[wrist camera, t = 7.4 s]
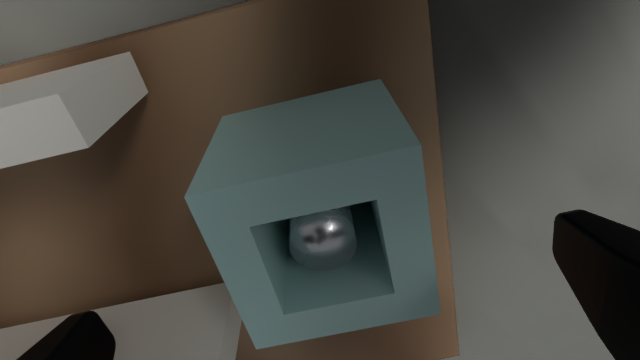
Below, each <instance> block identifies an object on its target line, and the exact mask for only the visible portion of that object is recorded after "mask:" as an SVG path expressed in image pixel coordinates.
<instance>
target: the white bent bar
mask: <svg viewBox="0 0 640 360" xmlns="http://www.w3.org/2000/svg"><path fill="white" fill-rule="evenodd" d="M147 93H148V90H147V88H146V86H145V83H144V81H143V79H142V77H141V75H140V72H139V70H138V68H137V66H136V64H135V62H134V59H133V57H132V55H131V53H130V52H126V53H122V54H118V55H114V56H110V57H106V58H102V59H98V60H95V61H91V62H87V63H83V64H79V65H75V66H71V67H67V68H63V69H60V70H56V71H52V72H48V73H44V74H40V75H36V76H32V77H28V78H25V79H21V80H17V81H13V82H9V83H5V84H1V85H0V169H2V168H6V167H10V166H15V165H19V164H23V163H27V162H31V161H35V160H40V159H44V158H48V157H52V156H56V155H60V154H65V153H69V152H73V151H77V150H81V149H86V148H89V147H90V146H91V145H92V144H93V143H94V142H96V141H97V140H98V139H99V138H100V137H101V136H102V135H103V134H104V133H105V132H106V131H107V130H108V129H110V128H111V127H112V126H113V125H114V124H115V123H116V122H117V121H118V120H119V119H120V118H121V117H122V116H123V115H125V114H126V113H127V112H128V111H129V110H130V109H131V108H132V107H133V106H134V105H135V104H136V103H137V102H139V101H140V100H141V99H142V98H143V97H144V96H145V95H146V94H147ZM89 311H94V312H96V313H97V314H98V315H99V316H100V317H101V319H102V320H103V322H104V323H105V324H106V326H107V327H108V329H109V330H110V331H111V333H112V334H113V336H114V338H115V342H116V349H115V354H114V359H113V360H235V359H236V353H237V346H238V340H239V334H240V328H241V321H242V318H241V316H240V314H239V312H238V310H237V308H236V306H235V304H234V302H233V299H232V297H231V295H230V293H229V291H228V289H227V287H226V285H225V283H220V284H215V285H211V286H206V287H201V288H196V289H191V290H186V291H182V292H177V293H172V294H167V295H162V296H157V297H152V298H148V299H143V300H138V301H133V302H128V303H123V304H118V305H114V306H109V307H104V308H99V309H94V310H89ZM70 315H72V314H70ZM70 315H65V316H60V317H55V318H51V319H46V320H41V321H36V322H31V323H26V324H22V325H17V326H12V327H7V328H2V329H0V360H16V359H17V358H19V357H20V356H21V355H22V354H24V353H25V352H26V351H27V350H28V349H30V348H31V347H32V346H33V345H34V344H36V343H37V342H38V341H39V340H41V339H42V338H43V337H44V336H45V335H47V334H48V333H49V332H50V331H51V330H53V329H54V328H55V327H56V326H58V325H59V324H60V323H61V322H62V321H64V320H65V319H66V318H67V317H69V316H70Z"/></svg>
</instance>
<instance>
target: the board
mask: <svg viewBox="0 0 640 360" xmlns="http://www.w3.org/2000/svg"><path fill="white" fill-rule="evenodd" d="M126 52H130V53H131V55H132V57H133V59H134V62H135V64H136V66H137V68H138V70H139V72H140V75H141V77H142V79H143V81H144V83H145V86H146V88H147V90H148V93H147V94H146V95H145V96H144V97H143V98H142V99H141V100H140V101H139V102H137V103H136V104H135V105H134V106H133V107H132V108H131V109H130V110H129V111H128V112H127V113H126V114H125V115H123V116H122V117H121V118H120V119H119V120H118V121H117V122H116V123H115V124H114V125H113V126H112V127H111V128H110V129H108V130H107V131H106V132H105V133H104V134H103V135H102V136H101V137H100V138H99V139H98V140H97V141H96V142H94V143H93V144H92V145H91V146H90V147H89V148H86V149H81V150H77V151H73V152H69V153H65V154H60V155H56V156H52V157H48V158H44V159H40V160H35V161H31V162H27V163H23V164H19V165H15V166H10V167H6V168H2V169H0V329H2V328H7V327H12V326H17V325H22V324H26V323H31V322H36V321H41V320H46V319H51V318H55V317H60V316H65V315H70V314H75V313H80V312H84V311H89V310H94V309H99V308H104V307H109V306H114V305H118V304H123V303H128V302H133V301H138V300H143V299H148V298H152V297H157V296H162V295H167V294H172V293H177V292H182V291H186V290H191V289H196V288H201V287H206V286H211V285H215V284H220V283H224V280H223V278H222V276H221V274H220V272H219V270H218V268H217V266H216V264H215V262H214V259H213V257H212V255H211V253H210V251H209V249H208V247H207V245H206V243H205V240H204V238H203V236H202V234H201V232H200V230H199V228H198V226H197V224H196V221H195V219H194V217H193V215H192V213H191V211H190V209H189V207H188V205H187V203H186V200H185V198H184V196H185V194H186V192H187V190H188V188H189V186H190V184H191V182H192V180H193V177H194V175H195V173H196V171H197V169H198V167H199V165H200V163H201V161H202V158H203V156H204V154H205V152H206V150H207V148H208V146H209V144H210V142H211V139H212V137H213V135H214V133H215V131H216V129H217V127H218V125H219V123H220V120H221V118H222V116H226V115H230V114H234V113H238V112H242V111H247V110H251V109H255V108H259V107H263V106H268V105H272V104H276V103H280V102H284V101H289V100H293V99H297V98H301V97H305V96H310V95H314V94H318V93H322V92H326V91H331V90H335V89H339V88H343V87H347V86H352V85H356V84H360V83H364V82H368V81H373V80H377V79H381V80H382V82H383V84H384V85H385V87H386V88H387V90H388V92H389V93H390V95H391V97H392V98H393V100H394V101H395V103H396V105H397V106H398V108H399V109H400V111H401V113H402V114H403V116H404V117H405V119H406V121H407V122H408V124H409V125H410V127H411V129H412V130H413V132H414V133H415V135H416V137H417V138H418V140H419V141H420V143H421V146H422V155H423V164H424V172H425V181H426V190H427V199H428V207H429V216H430V225H431V233H432V242H433V251H434V260H435V268H436V277H437V286H438V294H439V303H440V312H441V314H440V315H434V316H429V317H424V318H419V319H413V320H408V321H403V322H398V323H392V324H387V325H382V326H377V327H371V328H366V329H361V330H356V331H350V332H345V333H340V334H335V335H330V336H324V337H319V338H314V339H309V340H303V341H298V342H293V343H288V344H282V345H277V346H272V347H267V348H261V349H256V348H255V346H254V344H253V342H252V339H251V337H250V335H249V333H248V331H247V329H246V327H245V325H244V323H243V320H242V321H241V328H240V334H239V340H238V346H237V353H236V359H235V360H438V359H443V358H449V357H454V356H460V355H459V344H458V333H457V321H456V310H455V299H454V288H453V277H452V265H451V254H450V243H449V232H448V221H447V210H446V198H445V187H444V176H443V165H442V154H441V142H440V131H439V120H438V109H437V98H436V86H435V75H434V64H433V53H432V42H431V31H430V19H429V8H428V0H252V1H248V2H244V3H240V4H236V5H232V6H229V7H225V8H221V9H217V10H213V11H209V12H206V13H202V14H198V15H194V16H190V17H186V18H183V19H179V20H175V21H171V22H167V23H163V24H160V25H156V26H152V27H148V28H144V29H140V30H137V31H133V32H129V33H125V34H121V35H117V36H114V37H110V38H106V39H102V40H98V41H94V42H91V43H87V44H83V45H79V46H75V47H71V48H68V49H64V50H60V51H56V52H52V53H48V54H45V55H41V56H37V57H33V58H29V59H25V60H22V61H18V62H14V63H10V64H6V65H2V66H0V85H1V84H5V83H9V82H13V81H17V80H21V79H25V78H28V77H32V76H36V75H40V74H44V73H48V72H52V71H56V70H60V69H63V68H67V67H71V66H75V65H79V64H83V63H87V62H91V61H95V60H98V59H102V58H106V57H110V56H114V55H118V54H122V53H126Z"/></svg>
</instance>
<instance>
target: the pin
mask: <svg viewBox="0 0 640 360" xmlns="http://www.w3.org/2000/svg"><path fill="white" fill-rule="evenodd" d="M289 246H290V252H291V255H292V257H293V258H294V260H295V261H296V262H297V263H298V264H300V265H301V266H303V267H305V268H307V269H310V270H313V271H330V270H334V269H337V268H339V267H341V266H343V265H345V264H346V263H347V262H348V261H349V260H350V259H351V258H352V257H353V255H354V253H355V251H356V247H357V241H356V235H355V230H354V225H353V220H352V214H351V209H350V205H349V206H345V207H340V208H335V209H331V210H326V211H321V212H317V213H312V214H307V215H303V216H298V217H293V218H291V219H290V245H289Z"/></svg>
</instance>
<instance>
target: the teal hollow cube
mask: <svg viewBox="0 0 640 360" xmlns="http://www.w3.org/2000/svg"><path fill="white" fill-rule="evenodd" d="M184 198H185V200H186V203H187V205H188V207H189V209H190V211H191V213H192V215H193V217H194V219H195V221H196V224H197V226H198V228H199V230H200V232H201V234H202V236H203V238H204V240H205V243H206V245H207V247H208V249H209V251H210V253H211V255H212V257H213V259H214V262H215V264H216V266H217V268H218V270H219V272H220V274H221V276H222V278H223V280H224V283H225V285H226V287H227V289H228V291H229V293H230V295H231V297H232V299H233V302H234V304H235V306H236V308H237V310H238V312H239V314H240V316H241V318H242V320H243V323H244V325H245V327H246V329H247V331H248V333H249V335H250V337H251V339H252V342H253V344H254V346H255V348H256V349H261V348H267V347H272V346H277V345H282V344H288V343H293V342H298V341H303V340H309V339H314V338H319V337H324V336H330V335H335V334H340V333H345V332H350V331H356V330H361V329H366V328H371V327H377V326H382V325H387V324H392V323H398V322H403V321H408V320H413V319H419V318H424V317H429V316H434V315H440V314H441V312H440V303H439V294H438V286H437V277H436V268H435V260H434V251H433V242H432V233H431V225H430V216H429V207H428V199H427V190H426V181H425V172H424V164H423V155H422V146H421V143H420V141H419V140H418V138H417V137H416V135H415V133H414V132H413V130H412V129H411V127H410V125H409V124H408V122H407V121H406V119H405V117H404V116H403V114H402V113H401V111H400V109H399V108H398V106H397V105H396V103H395V101H394V100H393V98H392V97H391V95H390V93H389V92H388V90H387V88H386V87H385V85H384V84H383V82H382V80H381V79H377V80H373V81H368V82H364V83H360V84H356V85H352V86H347V87H343V88H339V89H335V90H331V91H326V92H322V93H318V94H314V95H310V96H305V97H301V98H297V99H293V100H289V101H284V102H280V103H276V104H272V105H268V106H263V107H259V108H255V109H251V110H247V111H242V112H238V113H234V114H230V115H226V116H222V118H221V120H220V123H219V125H218V127H217V129H216V131H215V133H214V135H213V137H212V139H211V142H210V144H209V146H208V148H207V150H206V152H205V154H204V156H203V158H202V161H201V163H200V165H199V167H198V169H197V171H196V173H195V175H194V177H193V180H192V182H191V184H190V186H189V188H188V190H187V192H186V194H185V196H184ZM349 205H350V209H351V214H352V220H353V225H354V230H355V235H356V241H357V247H356V251H355V253H354V255H353V257H352V258H351V259H350V260H349V261H348V262H347V263H346V264H345V265H343V266H341V267H339V268H337V269H334V270H330V271H313V270H310V269H307V268H305V267H303V266H301V265H300V264H298V263H297V262H296V261H295V260H294V258H293V257H292V255H291V252H290V246H289V245H290V219H291V218H293V217H298V216H303V215H307V214H312V213H317V212H321V211H326V210H331V209H335V208H340V207H345V206H349Z"/></svg>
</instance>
